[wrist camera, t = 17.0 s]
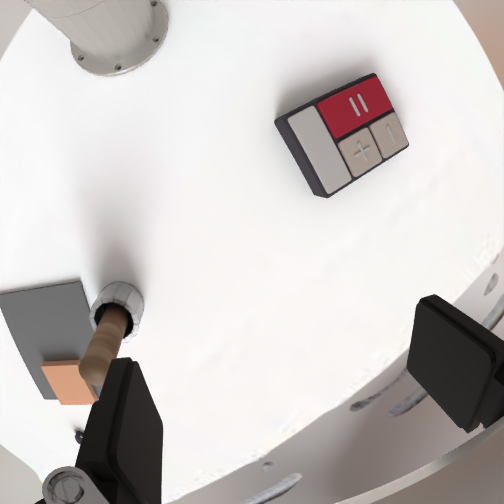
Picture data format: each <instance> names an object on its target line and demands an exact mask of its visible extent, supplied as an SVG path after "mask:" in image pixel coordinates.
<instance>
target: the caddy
mask: <svg viewBox="0 0 504 504" xmlns="http://www.w3.org/2000/svg"><path fill="white" fill-rule="evenodd" d="M110 302H114V303H117V304H120V305H122V306H124V307H125V308H126V309H127V310H128V311H129V312H130V313H131V315H130V318H129V321H128V324H127V327H126V330H125V333H124V336H123V339H122V342H121V343H126V342H128V341H130V340H131V339H132V338H133V337H135V336H136V334H137V331H138V327H139V324H140V321H141V317H142V314H143V311H144V300H143V297H142V295H141V294H140V292H139V291H138V290H137V289H136V288H135V287H134V286H132V285H130V284H128V283H125V282H114V283H111V284H109V285H107V286H106V287H105V288H104V290H103V291H102V292H101V293H100V294H99V296H98V297H97V299H96V301H95V302H94V304H93V305H92V307H91V312H90V317H89V319H90V322H91V325H92V327H93V330H94V331H96V329H97V326H98V324H99V322H100V320H101V318H102V316H103V314H104V312H105V310H106V309H107V307H108V305H109V303H110Z"/></svg>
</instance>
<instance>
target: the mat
mask: <svg viewBox="0 0 504 504" xmlns="http://www.w3.org/2000/svg"><path fill="white" fill-rule="evenodd" d="M0 308H1V310H2V313H3V316H4V318H5V321H6V323H7V325H8V328H9V330H10V333H11V335H12V337H13V339H14V342H15V344H16V346H17V348H18V350H19V352H20V354H21V356H22V359H23V361H24V363H25V365H26V367H27V368H28V370H29V372H30V374H31V376H32V378H33V380H34V382H35V384H36V385H37V387H38V389H39V391H40V392H41V394H42V396H43V398H44V399H57V400H58V398H57V396H56V394H55V393H54V391H53V389H52V387H51V385H50V384H49V382H48V380H47V378H46V376H45V374H44V372H43V370H42V368H41V365H42V364H43V362H45V361H64V360H79V359H80V362H81V360H82V358H83V356H84V354H85V352H86V349H87V347H88V345H89V343H90V341H91V339H92V337H93V335H94V333H95V331H94V330H93V327H92V325H91V322H90V319H89V317H90V312H91V311H90V308H89V305H88V302H87V299H86V296H85V293H84V290H83V286H82V283H81V281H78V282H72V283H66V284H60V285H53V286H47V287H41V288H35V289H29V290H23V291H17V292H11V293H5V294H0ZM92 387H93V389H94V391H95V393H96V395H97V397H98V399H99V396H100V393H101V390H102V387H103V386H94V385H92Z"/></svg>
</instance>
